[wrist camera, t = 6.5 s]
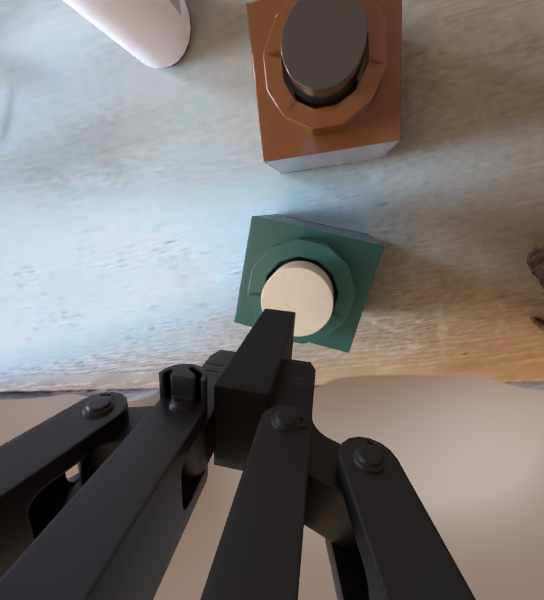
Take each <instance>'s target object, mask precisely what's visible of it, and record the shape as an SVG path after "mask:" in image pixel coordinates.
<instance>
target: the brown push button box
mask: <svg viewBox="0 0 544 600" xmlns="http://www.w3.org/2000/svg"><path fill="white" fill-rule="evenodd" d="M298 1H299V0H259V1H255V2H252V3H248V4H247V5H246V6H247V15H248V24H249V33H250V42H251V51H252V60H253V69H254V78H255V87H256V96H257V105H258V114H259V123H260V132H261V141H262V150H263V159H264V162H265V163H266V164H268V165H269V166H271V167H272V168H273V169H275V170H276V171H278V172H279V173H280V174H283V173H289V172H296V171H303V170H309V169H316V168H323V167H329V166H336V165H343V164H349V163H356V162H363V161H369V160H376V159H382V158H383V157H384V156H385V155H386V154H387V153H388V152H389V151H390V150H391V149H392V148H393V147H394V146H395V145H396V144H397V143H398V142H399V141H400V134H401V38H402V0H358V1H359V2H360V3H361V5H362V7H363V9H364V12H365V15H366V20H367V29H368V30H367V42H366V47H365V52H364V56H363V61H362V66H361V69H360V72H359V75H358V77H357V79H356V81H355V83H354V84H353V86H352V87H351V88H350V90H349V91H348V92H347V93H346V94H345V95H343V96H342V97H341V98H339V99H338V100H336V101H334V102H331V103H328V104H322V105H321V104H312V103H309V102H307V101H305V100H303V99H302V98H301V97H299V96H298V95H297V94H296V92H295V91H294V89H293V88H292V86H291V84H290V81H289V78H288V75H287V72H286V69H285V66H284V63H283V59H282V53H281V37H282V31H283V28H284V24H285V22H286V19H287V17H288V15H289V13H290V11H291V10H292V8H293V7H294V5H295V4H296V3H297V2H298Z"/></svg>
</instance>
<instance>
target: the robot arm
mask: <svg viewBox="0 0 544 600" xmlns="http://www.w3.org/2000/svg"><path fill="white" fill-rule="evenodd" d="M295 315H296V312H291V311H283V310H275V309H266V308H265V309H264V311H263V312H262V314H261V315H260V317H259V318H258V320H257V321H256V323H255V324H254V326H253V327H252V329H251V330H250V332H249V333H248V335H247V336H246V338H245V340H244V341H243V343H242V344H241V346H240V347H239V349H238V350H237V352H231V351H225V350H220V351H218V352H216V353H214V354H213V355H211V356H210V357H209V358H208V360H207V361H206V362H205V364H203V366H202V367H201V366H197V365H194V364H178V365H173V366H170V367H168V368H165V369H164V370H162V371H161V372H159V383H160V397H161V398H160V400H159V401H158V402H157V403H156V405H155V406H147V407H128V404H127V399H126V397H125V396H123V395H122V394H120V393H115V392H105V393H100V394H96V395H92V396H90V397H88V398H85V399H83V400H81V401H79V402H78V403H76V404H74V405H72V406H71V407H69V408H67V409H65V410H63V411H62V412H60V413H58V414H56V415H55V416H53V417H51V418H49V419H48V420H46V421H44V422H42V423H41V424H39V425H37V426H35V427H33V428H32V429H30V430H28V431H26V432H25V433H23V434H21V435H19V436H18V437H16V438H14V439H12V440H10V441H9V442H7V443H5V444H3V445H1V446H0V600H153V598H154V596H155V594H156V591H157V589H158V587H159V585H160V583H161V580H162V578H163V576H164V574H165V571H166V569H167V567H168V565H169V563H170V560H171V558H172V556H173V554H174V552H175V549H176V547H177V545H178V543H179V541H180V538H181V536H182V534H183V532H184V529H185V527H186V525H187V523H188V521H189V518H190V516H191V514H192V512H193V509H194V507H195V505H196V503H197V500H198V498H199V496H200V494H201V491H202V489H203V487H204V485H205V482H206V479H207V476H208V462H209V460H210V458H211V456H212V454H213V452H214V465H219V466H223V467H228V468H232V469H237V470H242V471H243V473H242V476H241V479H240V482H239V485H238V488H237V491H236V494H235V497H234V500H233V503H232V506H231V509H230V512H229V516H228V518H227V521H226V524H225V527H224V531H223V533H222V536H221V540H220V542H219V545H218V548H217V551H216V554H215V557H214V561H213V563H212V566H211V569H210V572H209V575H208V578H207V582H206V585H205V588H204V590H203V594H202V596H201V600H298V589H299V577H300V564H301V551H302V540H303V527H304V525H306V526H307V527H309V528H310V529H312V530H314V531H315V532H317V533H318V534H320V535H322V536H323V537H325V539H326V546H327V551H328V555H329V560H330V565H331V570H332V575H333V580H334V585H335V589H336V595H337V599H338V600H476V599H475V597H474V596H473V594H472V592H471V590H470V588H469V587H468V585H467V583H466V581H465V580H464V578H463V576H462V574H461V572H460V570H459V569H458V567H457V565H456V563H455V562H454V560H453V558H452V556H451V554H450V553H449V551H448V549H447V547H446V545H445V544H444V542H443V540H442V538H441V537H440V535H439V533H438V531H437V529H436V527H435V526H434V524H433V522H432V520H431V518H430V517H429V515H428V513H427V511H426V510H425V508H424V506H423V504H422V502H421V501H420V499H419V497H418V495H417V493H416V492H415V490H414V488H413V486H412V485H411V483H410V481H409V479H408V478H407V475H406V474H405V472H404V470H403V468H402V466H401V465H400V463H399V461H398V459H397V458H396V457H395V456H394V454H393V453H392V452H391V450H389V449H388V448H387V447H385V446H384V445H383V444H381V443H379V442H377V441H375V440H372V439H370V438H364V437H354V438H349V439H347V440H346V441H345V442H343V443H342V444H339V443H337V442H335V441H333V440H331V439H329V438H327V437H326V436H324V435H323V434H322V433H320V432H319V431H318V429H317V428H316V427H315V425H314V423H313V421H312V407H313V396H314V383H315V371H316V370H315V369H314V367H313V366H312V364H311V362H304V361H298V360H291V357H292V347H293V336H294V326H295ZM76 464H77V465H78V470H79V473H78V474H76V475H74V476H73V477H71V478H66V474H65V472H66V471H67V470H69V469H70V468H72V467H73V466H74V465H76Z"/></svg>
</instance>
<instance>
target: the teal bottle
mask: <svg viewBox="0 0 544 600" xmlns="http://www.w3.org/2000/svg"><path fill="white" fill-rule="evenodd" d="M383 247H384V245H382V244H381V243H379V242H378V241H376V240H375V239H373V238H372V237H371V236H369V235H368V234H364V233H359V232H355V231H350V230H346V229H341V228H337V227H332V226H327V225H323V224H318V223H314V222H309V221H304V220H300V219H295V218H291V217H286V216H281V215H277V214H274V215H263V216H252V219H251V225H250V231H249V237H248V243H247V249H246V255H245V261H244V267H243V273H242V279H241V285H240V291H239V297H238V303H237V309H236V315H235V321H234V322H236V323H240V324H244V325H247V326H251V327H253V326H254V324H255V323H256V321H257V320H258V318H259V317H260V315H261V314H262V312H263V311H262V307H261V294H262V290H263V288H264V286H265V284H266V282H267V281H268V280H269V278H270V277H271V276H272V275H273V274H274V273H275V272H276V271H277V270H278V269H279V268H280V267H281V266H283V265H285V264H287V263H289V262H293V261H307V262H311V263H313V264H316V265H317V266H319V267H320V268H321V269H323V270H324V271H325V272H326V274H327V275H328V276H329V278H330V280H331V283H332V286H333V311H332V314H331V317H330V319H329V320H328V322H327V323H326V324H325V325H324V327H323V328H321V329H320V330H319V331H317V332H315V333H313V334H310V335H307V336H293V342H297V343H302V344H303V343H307V342H311V343H314V344H318V345H322V346H325V347H329V348H333V349H337V350H340V351H344V352H348V353H349V350H350V347H351V344H352V341H353V338H354V335H355V332H356V329H357V326H358V323H359V320H360V317H361V314H362V311H363V308H364V305H365V302H366V299H367V296H368V292H369V289H370V286H371V283H372V280H373V277H374V274H375V271H376V268H377V265H378V262H379V259H380V256H381V253H382V250H383Z"/></svg>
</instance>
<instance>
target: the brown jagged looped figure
mask: <svg viewBox="0 0 544 600" xmlns="http://www.w3.org/2000/svg"><path fill="white" fill-rule="evenodd" d="M527 264H528V266H529V267H530V270H531V271H532V274H533V275H535V276H536V277H537V278H538V279H539V280H540V281H539V283H540V284H541V285H542V287H543V288H544V246H541V247H537V248H535V249H534V250H533V251H532V252H531V253H529V254H528V257H527ZM530 319H531V320H532V321H533V323H534V324H535V325H537V326H538V328H540V329H541V330H543V331H544V320H542V319H541V318H537V317H531V318H530Z"/></svg>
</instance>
